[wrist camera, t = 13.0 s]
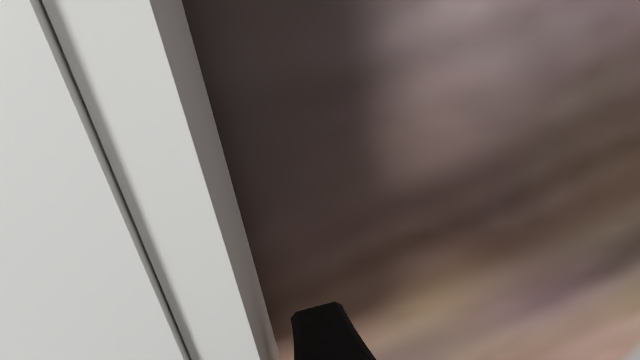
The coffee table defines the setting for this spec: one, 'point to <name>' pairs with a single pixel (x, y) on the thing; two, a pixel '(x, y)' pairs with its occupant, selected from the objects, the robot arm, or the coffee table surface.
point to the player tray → (169, 166)
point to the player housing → (66, 218)
